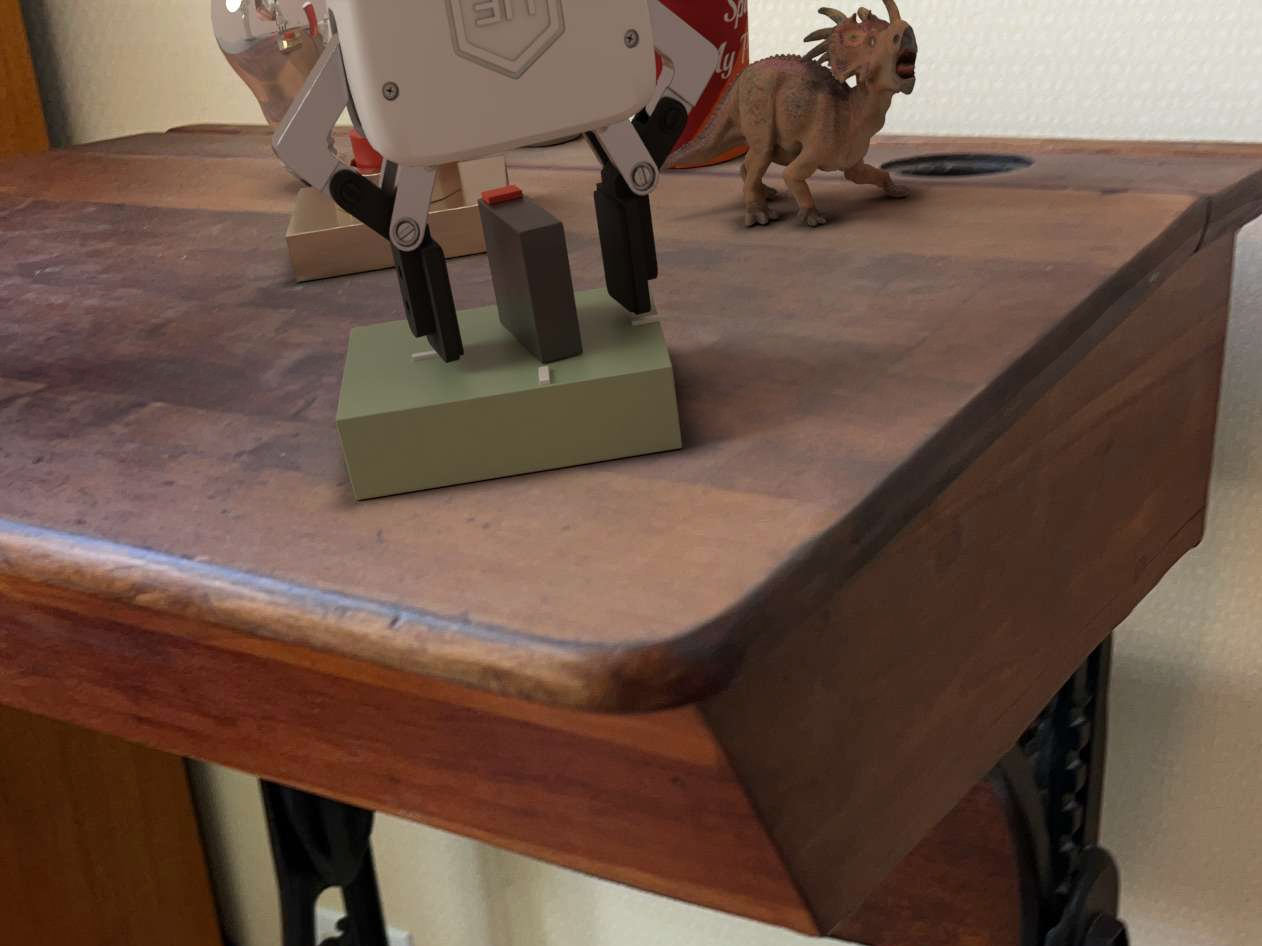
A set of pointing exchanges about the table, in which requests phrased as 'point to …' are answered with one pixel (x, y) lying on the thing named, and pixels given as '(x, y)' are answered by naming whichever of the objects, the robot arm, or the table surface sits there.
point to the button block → (348, 246)
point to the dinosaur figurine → (812, 111)
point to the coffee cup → (721, 18)
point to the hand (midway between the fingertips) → (538, 323)
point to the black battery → (530, 273)
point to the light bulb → (272, 49)
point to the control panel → (503, 400)
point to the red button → (364, 152)
